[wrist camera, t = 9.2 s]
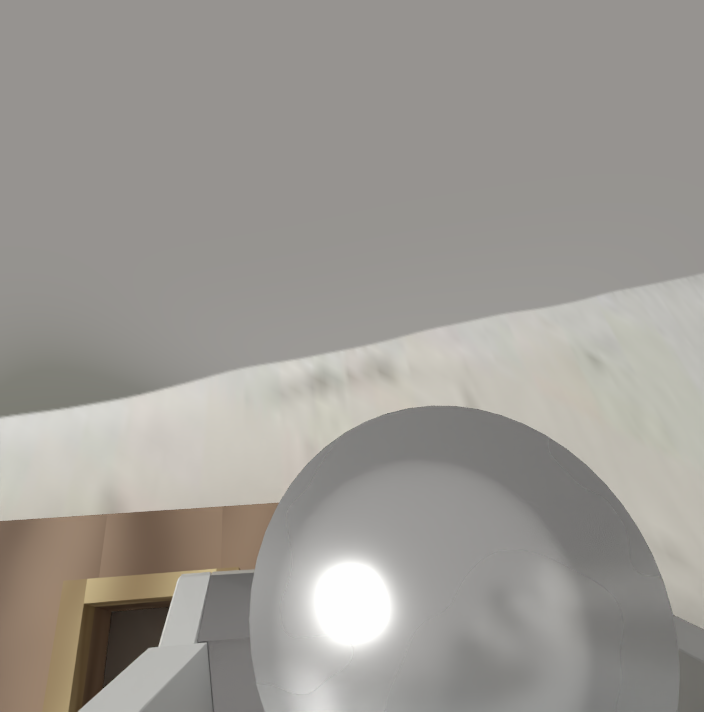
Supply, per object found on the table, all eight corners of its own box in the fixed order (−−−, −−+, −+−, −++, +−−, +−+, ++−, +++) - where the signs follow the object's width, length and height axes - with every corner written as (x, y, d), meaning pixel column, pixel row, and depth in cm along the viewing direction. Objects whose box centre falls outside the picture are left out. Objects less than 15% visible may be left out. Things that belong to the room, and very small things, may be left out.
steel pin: (412, 566, 17) (600, 398, 6) (433, 723, 15) (757, 853, 4) (281, 577, 16) (250, 414, 6) (284, 739, 14) (247, 931, 4)
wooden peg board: (393, 506, 31) (405, 486, 27) (433, 826, 24) (455, 853, 20) (-65, 538, 28) (-116, 520, 24) (-168, 909, 21) (-261, 957, 18)
